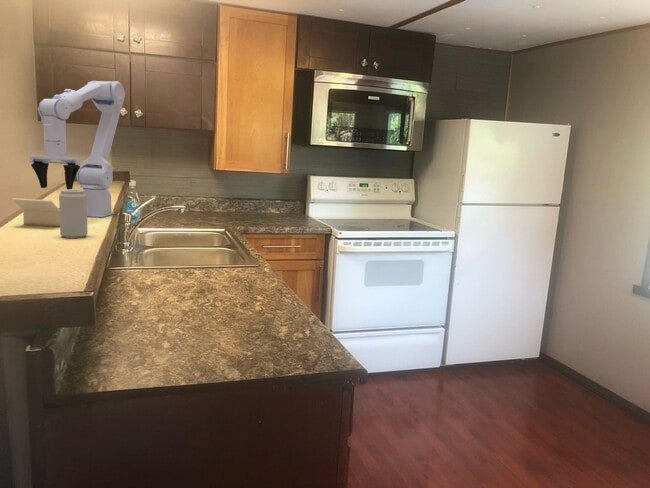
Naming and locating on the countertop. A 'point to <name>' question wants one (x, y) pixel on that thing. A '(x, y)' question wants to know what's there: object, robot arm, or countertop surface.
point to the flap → (36, 205)
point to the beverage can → (73, 213)
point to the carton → (41, 218)
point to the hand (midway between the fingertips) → (56, 188)
